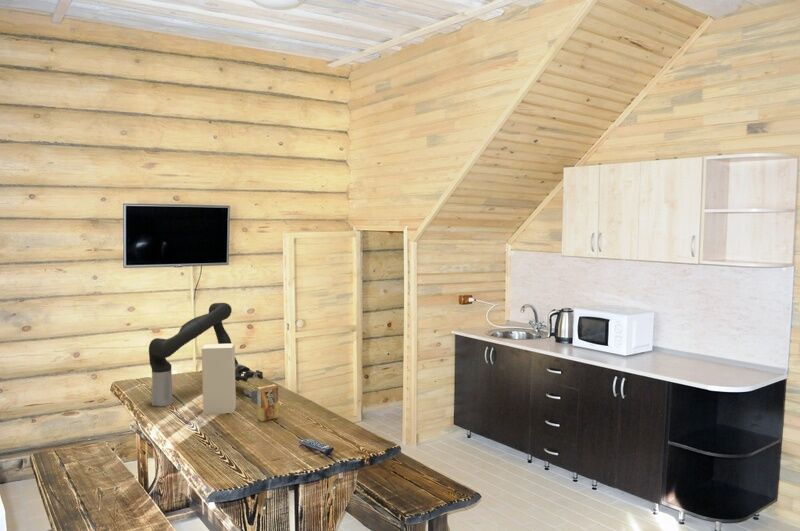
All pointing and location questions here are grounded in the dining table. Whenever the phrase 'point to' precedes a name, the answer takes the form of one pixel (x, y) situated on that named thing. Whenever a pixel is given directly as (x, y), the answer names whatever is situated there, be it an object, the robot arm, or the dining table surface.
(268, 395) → the candy box
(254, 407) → the dining table surface
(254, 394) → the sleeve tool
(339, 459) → the dining table surface
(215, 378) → the tall beige cuboid
